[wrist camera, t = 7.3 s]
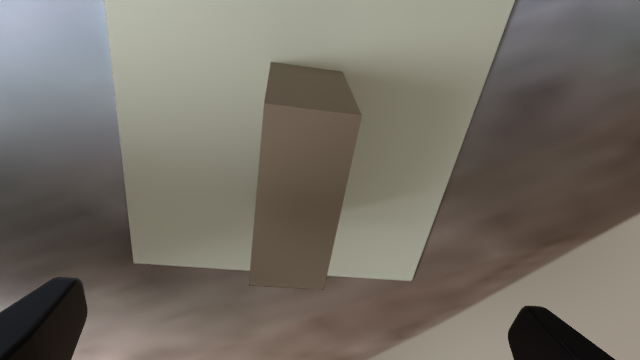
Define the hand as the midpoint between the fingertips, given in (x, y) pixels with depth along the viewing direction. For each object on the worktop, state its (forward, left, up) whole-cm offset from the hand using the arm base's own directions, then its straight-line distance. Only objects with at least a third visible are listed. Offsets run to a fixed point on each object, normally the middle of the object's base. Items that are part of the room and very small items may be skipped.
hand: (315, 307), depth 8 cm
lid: (0, 0, -8) cm, 8 cm away
